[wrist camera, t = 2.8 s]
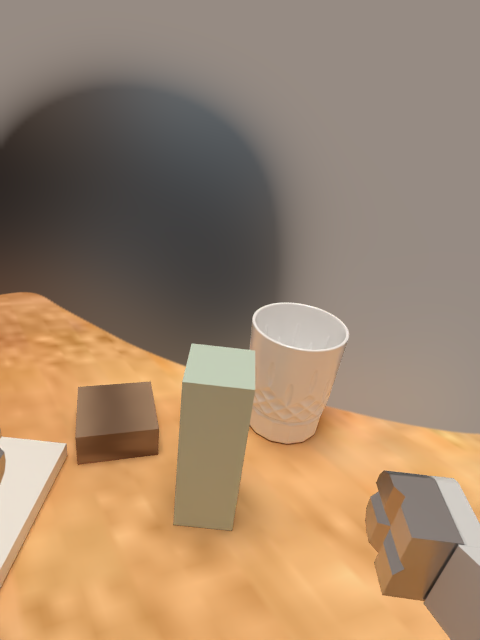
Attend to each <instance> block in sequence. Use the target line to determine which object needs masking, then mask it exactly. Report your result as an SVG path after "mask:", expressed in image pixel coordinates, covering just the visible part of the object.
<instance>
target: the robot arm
mask: <svg viewBox="0 0 480 640" xmlns="http://www.w3.org/2000/svg"><path fill="white" fill-rule="evenodd" d="M1 437H2V435H1V430H0V438H1ZM5 463H6V459H5V452H4V451H3V450H2V449H1V448H0V484H1V481H2V478H3V475H4V472H5ZM376 483H377V487H378V490H379V492H377V493H376V494H374V495H373V496H371V497H370V499H369V502H368V505H367V508H366V518H365V523H366V532H367V536H368V540H369V543H370V544H371V545H372V546H373V547H374V549H375V550H376V551H377V552H378V555H377V557H376V560H375V562H374V565H375V568H376V572H377V576H378V580H379V584H380V588H381V592H382V595H385V596H392V597H399V598H406V599H413V600H420V601H424V605H425V606H426V607H427V609H428V610H429V611H430V613H431V614H432V615H433V617H434V618H435V619H436V621H437V622H438V623H439V625H440V626H441V627H442V629H443V630H444V631H445V633H446V634H447V635H448V637H449V638H450V639H451V640H480V523H479V521H478V520H477V518H476V516H475V514H474V512H473V510H472V508H471V506H470V504H469V502H468V500H467V498H466V496H465V495H464V493H463V491H462V489H461V487H460V485H459V483H458V482H457V481H456V480H455V479H454V478H445V477H436V476H427V475H419V474H410V473H401V472H393V471H383V472H382V473H381V474H380V475H379V478H378V480H377V482H376Z"/></svg>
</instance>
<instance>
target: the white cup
mask: <svg viewBox="0 0 480 640" xmlns="http://www.w3.org/2000/svg"><path fill="white" fill-rule="evenodd" d="M348 338H349V331H348V329H347V327H346V325H345V324H344V323H343V322H342V321H341V320H339V319H338V318H337V317H336V316H334V315H332V314H330V313H329V312H326V311H324V310H322V309H319V308H316V307H313V306H309V305H304V304H298V303H274V304H270V305H266V306H263V307H261V308H260V309H258V310H257V311H256V312H255V313H254V315H253V319H252V330H251V341H250V350H253V351H255V394H254V400H253V407H252V413H251V419H250V426H251V427H252V428H253V430H254V431H255V432H256V433H258V434H259V435H261V436H263V437H265V438H266V439H268V440H270V441H275V442H280V443H285V444H290V443H297V442H303V441H305V440H306V439H308V438H309V437H311V436H313V435H314V434H315V431H316V429H317V426H318V423H319V420H320V417H321V414H322V412H323V410H324V408H325V407H326V404H327V400H328V398H329V396H330V393H331V389H332V386H333V384H334V382H335V379H336V375H337V372H338V369H339V366H340V362H341V360H342V357H343V353H344V351H345V348H346V345H347V342H348Z"/></svg>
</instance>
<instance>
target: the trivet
mask: <svg viewBox="0 0 480 640" xmlns="http://www.w3.org/2000/svg"><path fill="white" fill-rule="evenodd" d="M0 448H1V449H2V450H3V451H4V452H5V459H6V463H5V472H4V475H3V478H2V481H1V484H0V588H1V586H2V584H3V582H4V580H5V578H6V576H7V574H8V572H9V570H10V568H11V566H12V564H13V562H14V560H15V558H16V556H17V554H18V552H19V550H20V548H21V546H22V544H23V542H24V540H25V538H26V536H27V534H28V532H29V530H30V528H31V526H32V524H33V522H34V520H35V518H36V516H37V514H38V513H39V511H40V509H41V507H42V505H43V503H44V501H45V499H46V497H47V495H48V493H49V491H50V489H51V487H52V485H53V483H54V481H55V479H56V477H57V475H58V473H59V471H60V469H61V467H62V465H63V463H64V461H65V459H66V457H67V445H66V444H65V443H56V442H47V441H37V440H28V439H18V438H9V437H1V438H0Z"/></svg>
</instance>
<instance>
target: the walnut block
mask: <svg viewBox="0 0 480 640" xmlns="http://www.w3.org/2000/svg"><path fill="white" fill-rule="evenodd" d="M158 439H159V427H158V421H157V415H156V409H155V404H154V398H153V392H152V386H151V382H139V383H126V384H113V385H100V386H86V387H78V400H77V419H76V450H77V461H78V465H79V464H87V463H95V462H103V461H111V460H119V459H127V458H135V457H143V456H150V455H158Z"/></svg>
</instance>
